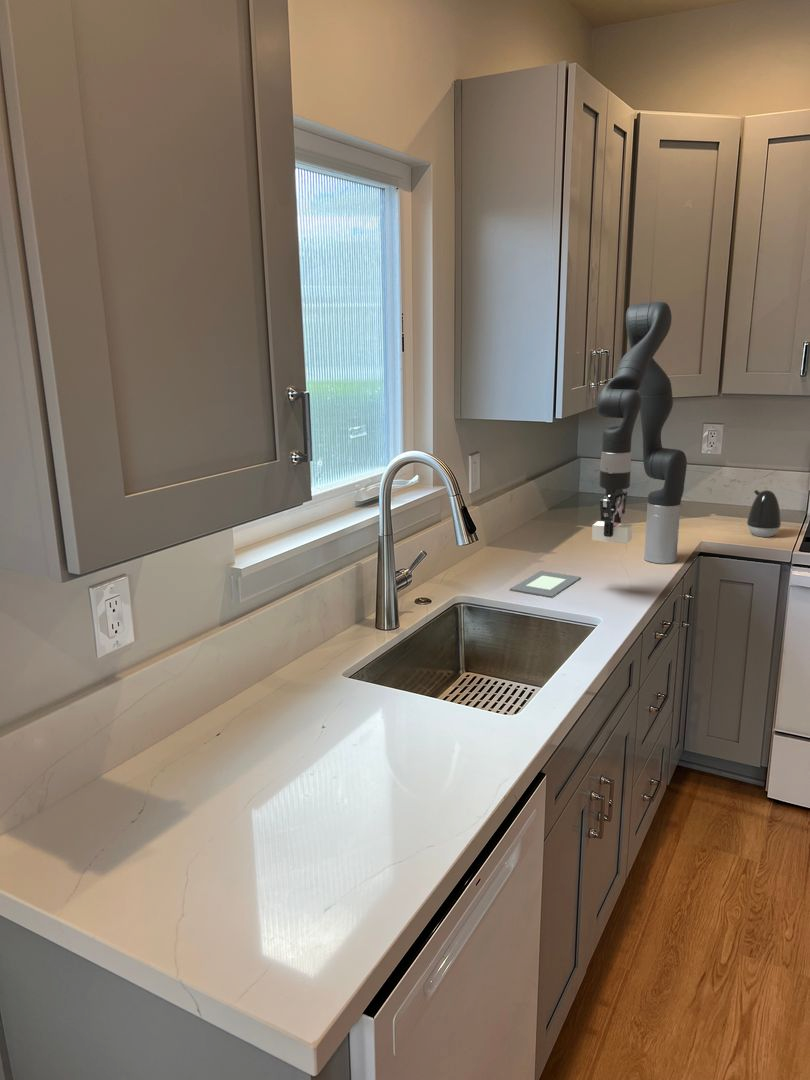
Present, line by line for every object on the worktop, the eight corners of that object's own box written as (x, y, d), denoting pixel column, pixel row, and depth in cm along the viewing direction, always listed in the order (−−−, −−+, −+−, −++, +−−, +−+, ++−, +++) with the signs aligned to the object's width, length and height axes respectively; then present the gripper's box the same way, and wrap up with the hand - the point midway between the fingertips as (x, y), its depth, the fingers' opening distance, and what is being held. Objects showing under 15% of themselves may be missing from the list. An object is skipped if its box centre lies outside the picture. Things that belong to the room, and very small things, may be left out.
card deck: (597, 535, 211) (598, 520, 210) (631, 539, 206) (632, 524, 205) (591, 540, 206) (592, 524, 205) (626, 543, 202) (627, 528, 201)
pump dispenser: (763, 530, 271) (767, 486, 268) (786, 537, 262) (791, 492, 258) (738, 533, 268) (743, 488, 265) (761, 540, 259) (765, 494, 255)
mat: (540, 571, 226) (540, 570, 226) (581, 578, 220) (581, 576, 220) (509, 590, 210) (509, 588, 210) (552, 597, 204) (552, 595, 204)
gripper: (610, 464, 210) (607, 526, 214) (591, 472, 198) (588, 538, 202) (638, 466, 206) (635, 530, 210) (620, 474, 194) (616, 541, 198)
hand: (612, 533), depth 206 cm, fingers closed on card deck, 5 cm apart
